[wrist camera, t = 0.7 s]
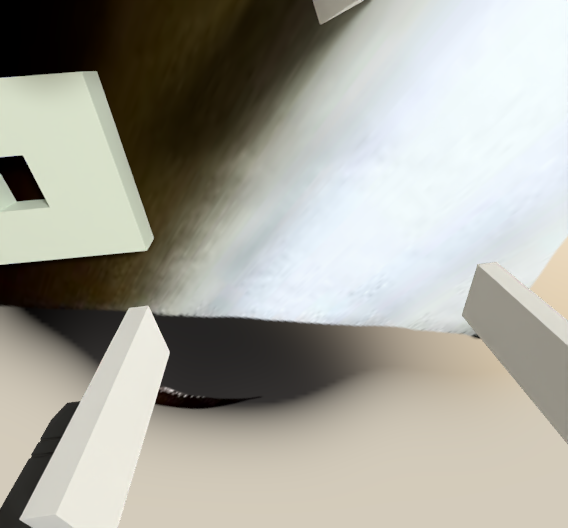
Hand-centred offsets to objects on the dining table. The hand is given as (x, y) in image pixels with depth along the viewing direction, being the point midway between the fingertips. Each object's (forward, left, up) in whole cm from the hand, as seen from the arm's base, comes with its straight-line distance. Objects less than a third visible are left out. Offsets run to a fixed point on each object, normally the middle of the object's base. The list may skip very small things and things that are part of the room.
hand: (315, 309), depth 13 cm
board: (0, -27, -26) cm, 38 cm away
